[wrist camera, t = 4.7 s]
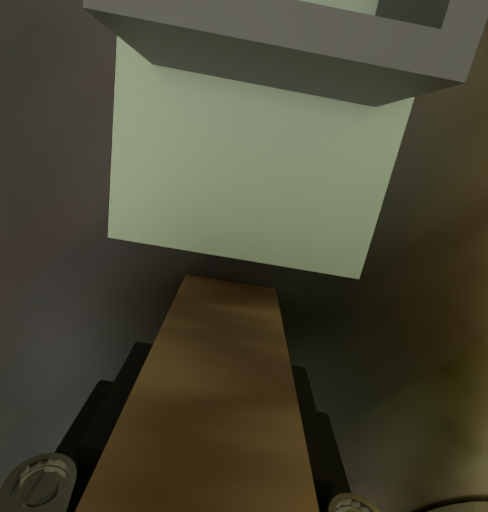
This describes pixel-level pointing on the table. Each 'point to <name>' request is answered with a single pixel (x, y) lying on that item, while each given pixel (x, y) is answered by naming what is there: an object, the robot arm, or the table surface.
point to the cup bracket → (271, 119)
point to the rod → (210, 413)
